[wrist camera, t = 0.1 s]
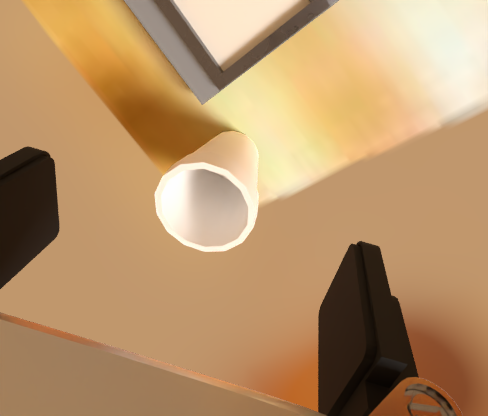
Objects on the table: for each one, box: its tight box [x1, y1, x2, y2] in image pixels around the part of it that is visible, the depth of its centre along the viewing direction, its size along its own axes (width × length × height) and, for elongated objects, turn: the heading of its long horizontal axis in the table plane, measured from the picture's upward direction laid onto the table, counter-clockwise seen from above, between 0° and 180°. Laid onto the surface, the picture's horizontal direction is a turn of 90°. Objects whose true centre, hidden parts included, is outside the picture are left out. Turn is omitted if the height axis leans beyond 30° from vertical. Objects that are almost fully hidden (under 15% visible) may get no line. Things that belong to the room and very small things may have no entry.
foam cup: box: [155, 131, 259, 252], centre depth 38 cm, size 10×9×13 cm
